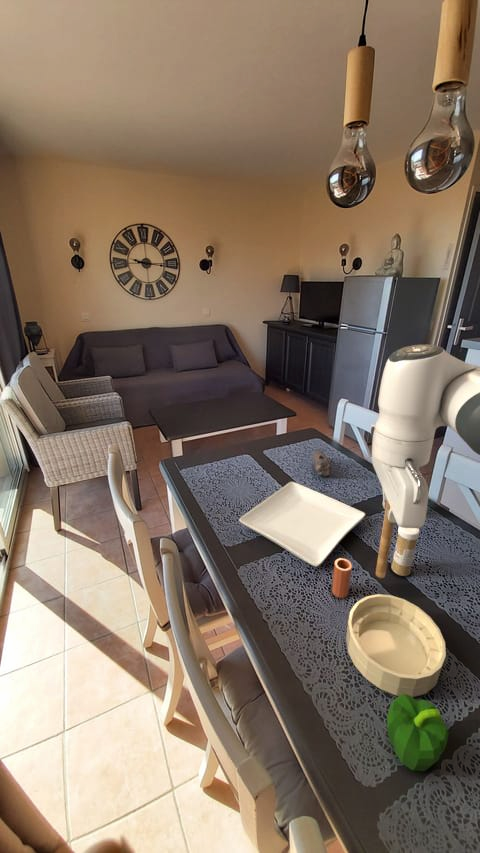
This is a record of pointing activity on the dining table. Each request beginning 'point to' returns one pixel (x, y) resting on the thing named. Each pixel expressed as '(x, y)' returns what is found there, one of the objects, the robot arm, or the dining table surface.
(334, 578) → the stick holder
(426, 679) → the bowl
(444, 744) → the bell pepper
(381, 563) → the stirring stick
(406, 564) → the sprinkles bottle
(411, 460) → the robot arm
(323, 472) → the perforated stone tool
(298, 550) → the square plate
